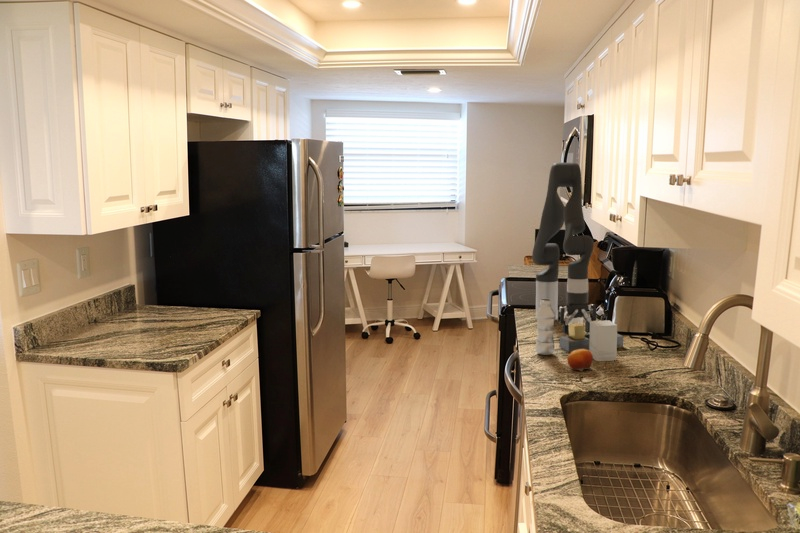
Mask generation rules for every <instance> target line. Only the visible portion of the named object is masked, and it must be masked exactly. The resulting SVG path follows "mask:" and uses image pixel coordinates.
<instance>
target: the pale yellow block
mask: <svg viewBox="0 0 800 533" xmlns="http://www.w3.org/2000/svg"><path fill="white" fill-rule="evenodd" d="M585 334H586V332H585V324H581V323H573V324H569V333H568V336H569V338H570V339H572V340H583V339H585Z"/></svg>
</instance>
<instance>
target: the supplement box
mask: <svg viewBox="0 0 800 533" xmlns="http://www.w3.org/2000/svg"><path fill="white" fill-rule="evenodd" d="M589 334H590V341H589V351H590V352H591V354H592V355H593V359H594V361H595V362H612V361H614V360H615V361H617V355H618V353H617V352H618V350H617V348H618V347H617V334H618V324H616V323H615V322H613V321H611V320H596V321H590V332H589Z"/></svg>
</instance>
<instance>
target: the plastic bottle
mask: <svg viewBox="0 0 800 533" xmlns="http://www.w3.org/2000/svg"><path fill="white" fill-rule="evenodd" d="M540 305H541V307H540V308H539V310H538V311H537V314H536V313H535V318H536V317H537V319H536V323H537V334H536V335H537V336H536V342H535V351H536V353H537V354H538V355H541V356H549V355H552V354H553V353H555V341H554V324H555V321H556V320H555V312H554V311H553V309H552V308H551V300H550V299H541V300H540ZM554 320H555V321H554Z"/></svg>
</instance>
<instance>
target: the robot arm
mask: <svg viewBox="0 0 800 533" xmlns="http://www.w3.org/2000/svg"><path fill="white" fill-rule="evenodd" d="M559 188H572V189H571V190H572V191H571V192H572V193H571V195H570V197H569V199H568V201H567V202H566V204H564V203H563V201H562V199H561V198H560V196H559V194H558V189H559ZM582 190H583V188H582V171H581V167H580V165H579V163H576V162H554V163H553V164H552V165H551V168H550V170H549V176H548V184H547V192H546V198H545V201H544V205H543V209H542V214H541V218H540V222H539V223H540V225H539V228H538V233H537V236H536V238H535V241H534V245H533V248H532V254H531V256H532V257H531V258H532V262H533V263H534V264H535V265H537V266H548V267H547V268H546V269H544V270H542V271H540V272H537V273H536V275H535V315H536V314H537V311H538V310H539V308H540V307H541V305H540V300H541V299H550V300H551V308H552V309H553V311H554V312H555V320H554V322H555V321H557V323H559V324H562V333H563V334H564V335H565V336H569V325H568V324H569V322H570V321H571V320H572V319H573V318H578V317H580V318H582V317H583V320H585V321H584V325H585V333H586V334H590V321H597V306H596V305H595V304H593V303H590V304H588V303H589V265H590V261H591V257H592V253H593V251H594V248H595V242H594V239H593V238H592V236H591V235H585V234H584V235H578V234H581V233H583V232H584V231H585V229H586V223H585V217H584V212H583V193H582V192H583V191H582ZM563 227H565V228H564V229H565V230H564V239H563V244H562V249H563V252H564V253H565V254H566V255H568V256H580V258H579V259H577V260H574V261H570V262H569V263H568V265H567V282H566V305H565V306H566V307H565V306H561V305H560V306H558V304H559V302H558V301H559V300H558V298H559V297H558V296H559V288H558V287H559V286H558V285H559V272H560V271H559V270H560V268H559V267H560V266H559V265H560V247H559V244H557V243H556V242H555V243H553V242H552V243H551V242H549V241H550V240H551V239H552V238H553V237H554V236H555V235H557V234H558V233H559V231H560V230H561V229H562V228H563ZM548 242H549V243H548ZM566 310H567V314H566V315H565V318H564V313H565V312H566ZM588 310H589V314H588V313H587V312H588ZM569 316H570V317H569ZM535 320H537V317H536V316H535Z"/></svg>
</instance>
